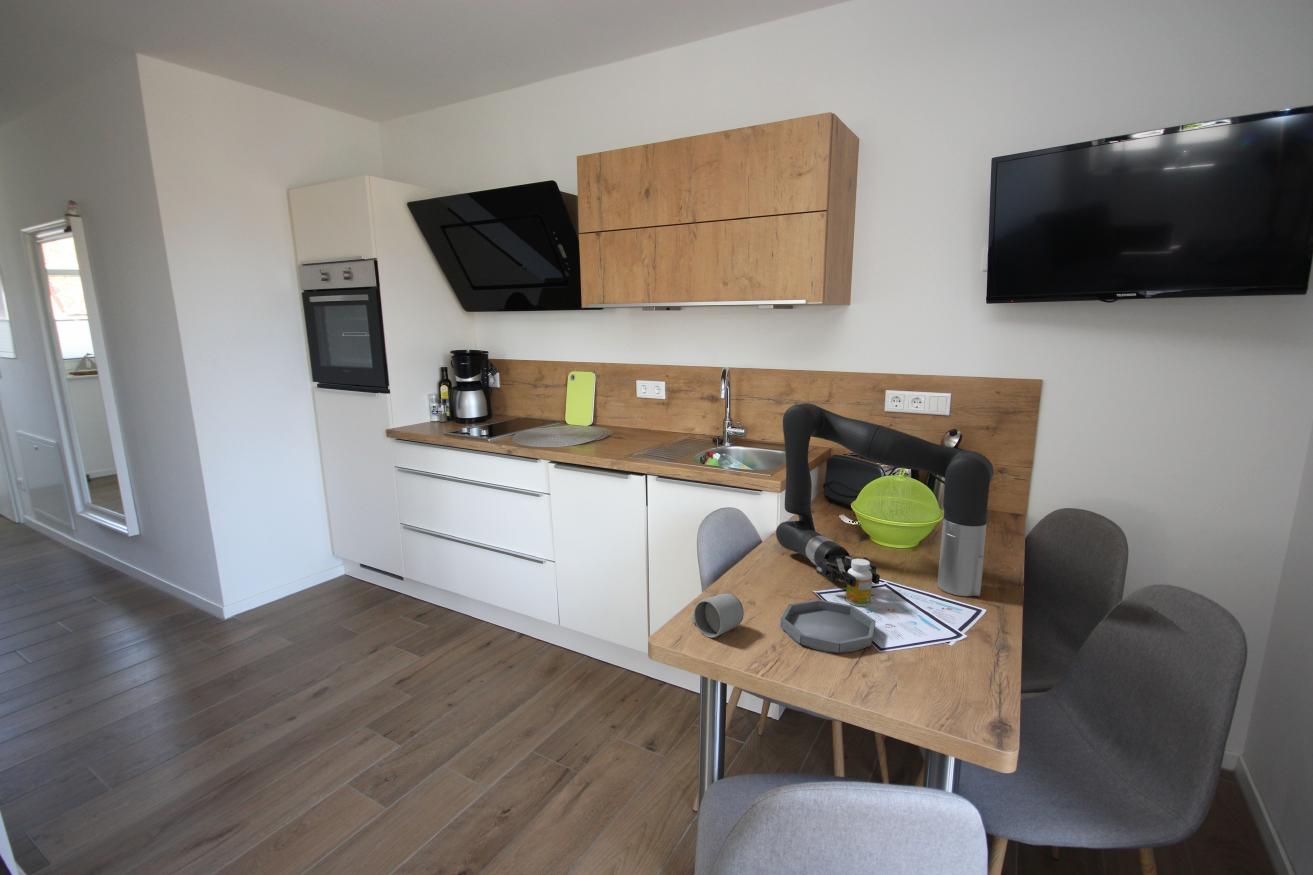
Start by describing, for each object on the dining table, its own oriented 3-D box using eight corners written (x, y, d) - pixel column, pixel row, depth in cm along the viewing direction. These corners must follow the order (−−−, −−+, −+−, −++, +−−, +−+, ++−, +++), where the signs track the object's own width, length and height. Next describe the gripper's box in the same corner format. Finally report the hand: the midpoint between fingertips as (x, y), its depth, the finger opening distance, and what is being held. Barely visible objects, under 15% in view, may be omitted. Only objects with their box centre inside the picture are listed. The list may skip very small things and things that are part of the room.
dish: (877, 620, 130) (878, 610, 130) (868, 661, 114) (868, 649, 114) (793, 604, 137) (794, 594, 137) (773, 640, 121) (774, 629, 121)
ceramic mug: (746, 629, 126) (746, 595, 125) (720, 643, 120) (721, 607, 119) (707, 613, 133) (708, 580, 132) (682, 625, 128) (682, 591, 127)
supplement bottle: (842, 596, 142) (844, 557, 140) (864, 596, 142) (867, 556, 140) (851, 607, 136) (853, 566, 135) (874, 606, 137) (877, 565, 135)
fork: (896, 537, 185) (896, 532, 184) (837, 521, 199) (838, 515, 199) (901, 535, 187) (901, 529, 186) (842, 519, 201) (843, 513, 201)
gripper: (801, 542, 149) (838, 568, 133) (853, 538, 153) (895, 562, 137) (800, 571, 151) (836, 600, 134) (851, 566, 154) (893, 593, 138)
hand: (866, 581), depth 136 cm, fingers closed on supplement bottle, 5 cm apart
